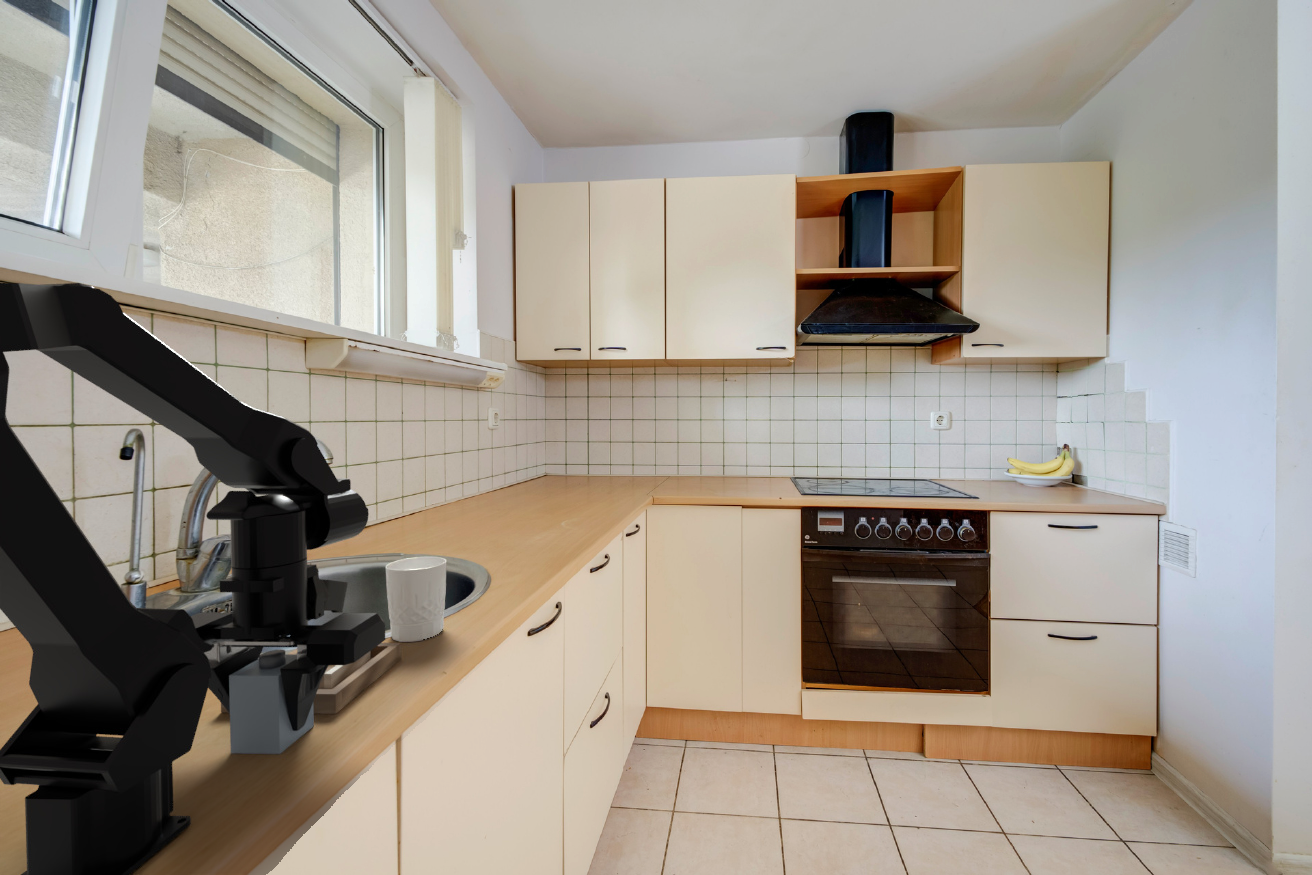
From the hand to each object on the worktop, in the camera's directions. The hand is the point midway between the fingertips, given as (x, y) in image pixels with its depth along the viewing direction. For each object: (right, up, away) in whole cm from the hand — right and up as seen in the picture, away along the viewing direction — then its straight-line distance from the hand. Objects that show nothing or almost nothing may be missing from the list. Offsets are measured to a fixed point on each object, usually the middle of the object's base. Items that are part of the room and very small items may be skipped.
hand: (273, 728), depth 50 cm
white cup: (+2, -1, +26) cm, 26 cm away
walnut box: (-3, -1, +11) cm, 11 cm away
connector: (0, -1, 0) cm, 1 cm away
